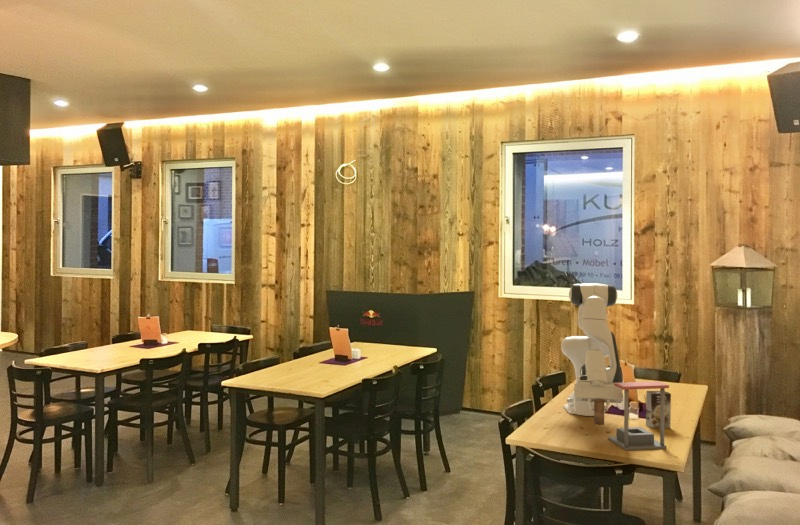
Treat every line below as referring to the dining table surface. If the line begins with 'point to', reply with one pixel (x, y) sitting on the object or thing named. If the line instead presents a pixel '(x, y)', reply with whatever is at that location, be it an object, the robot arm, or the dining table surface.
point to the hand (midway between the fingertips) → (599, 410)
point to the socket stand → (636, 435)
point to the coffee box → (657, 409)
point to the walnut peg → (599, 411)
